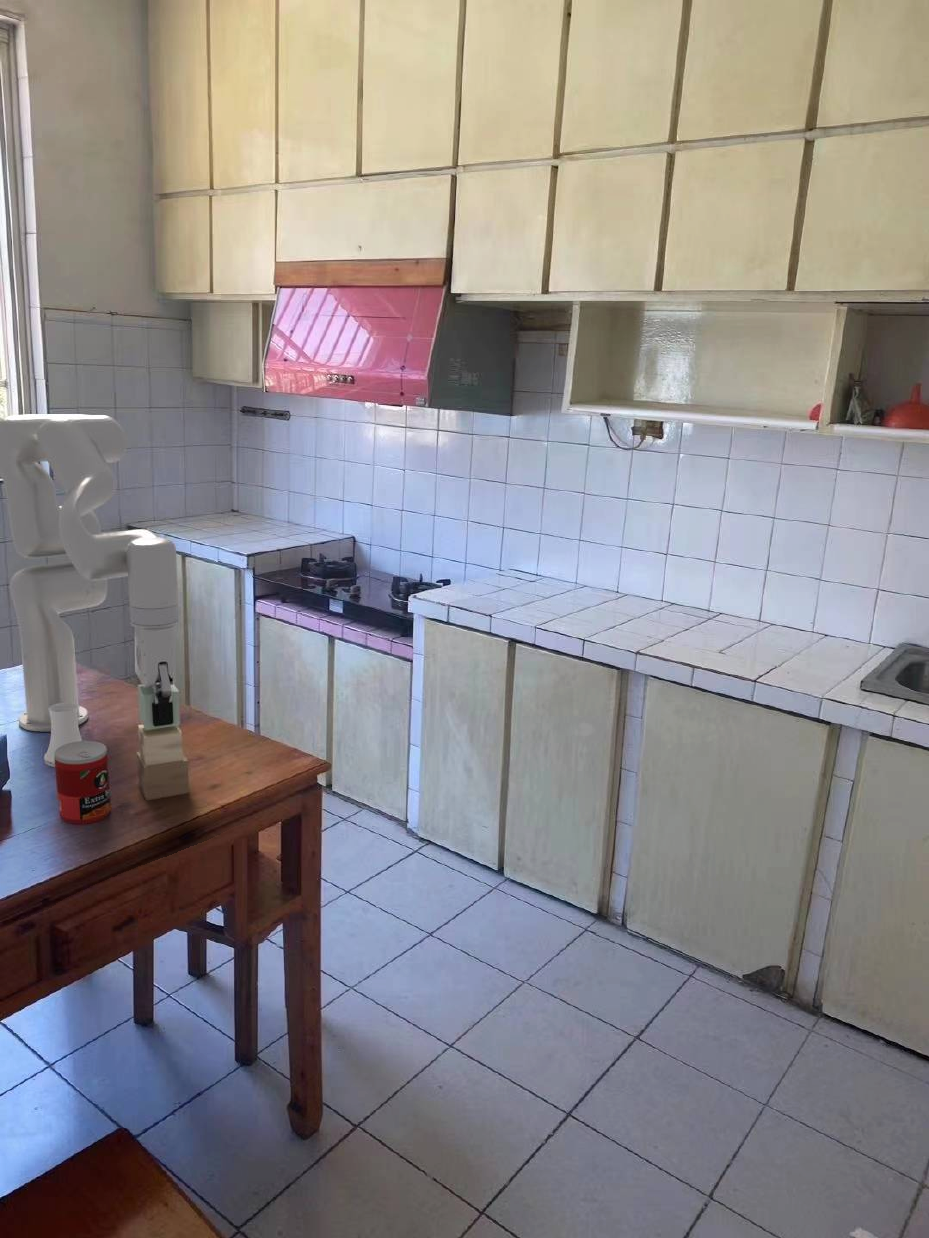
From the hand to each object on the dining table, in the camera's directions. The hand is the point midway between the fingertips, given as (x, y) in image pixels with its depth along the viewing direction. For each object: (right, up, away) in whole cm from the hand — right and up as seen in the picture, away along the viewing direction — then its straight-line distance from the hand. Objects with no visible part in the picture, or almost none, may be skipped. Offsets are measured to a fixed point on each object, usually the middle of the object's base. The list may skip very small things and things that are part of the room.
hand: (159, 717), depth 154 cm
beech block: (0, -7, +2) cm, 7 cm away
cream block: (0, -13, +3) cm, 13 cm away
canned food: (-10, -15, -6) cm, 19 cm away
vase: (-21, -9, +13) cm, 26 cm away
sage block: (0, -1, 0) cm, 1 cm away
